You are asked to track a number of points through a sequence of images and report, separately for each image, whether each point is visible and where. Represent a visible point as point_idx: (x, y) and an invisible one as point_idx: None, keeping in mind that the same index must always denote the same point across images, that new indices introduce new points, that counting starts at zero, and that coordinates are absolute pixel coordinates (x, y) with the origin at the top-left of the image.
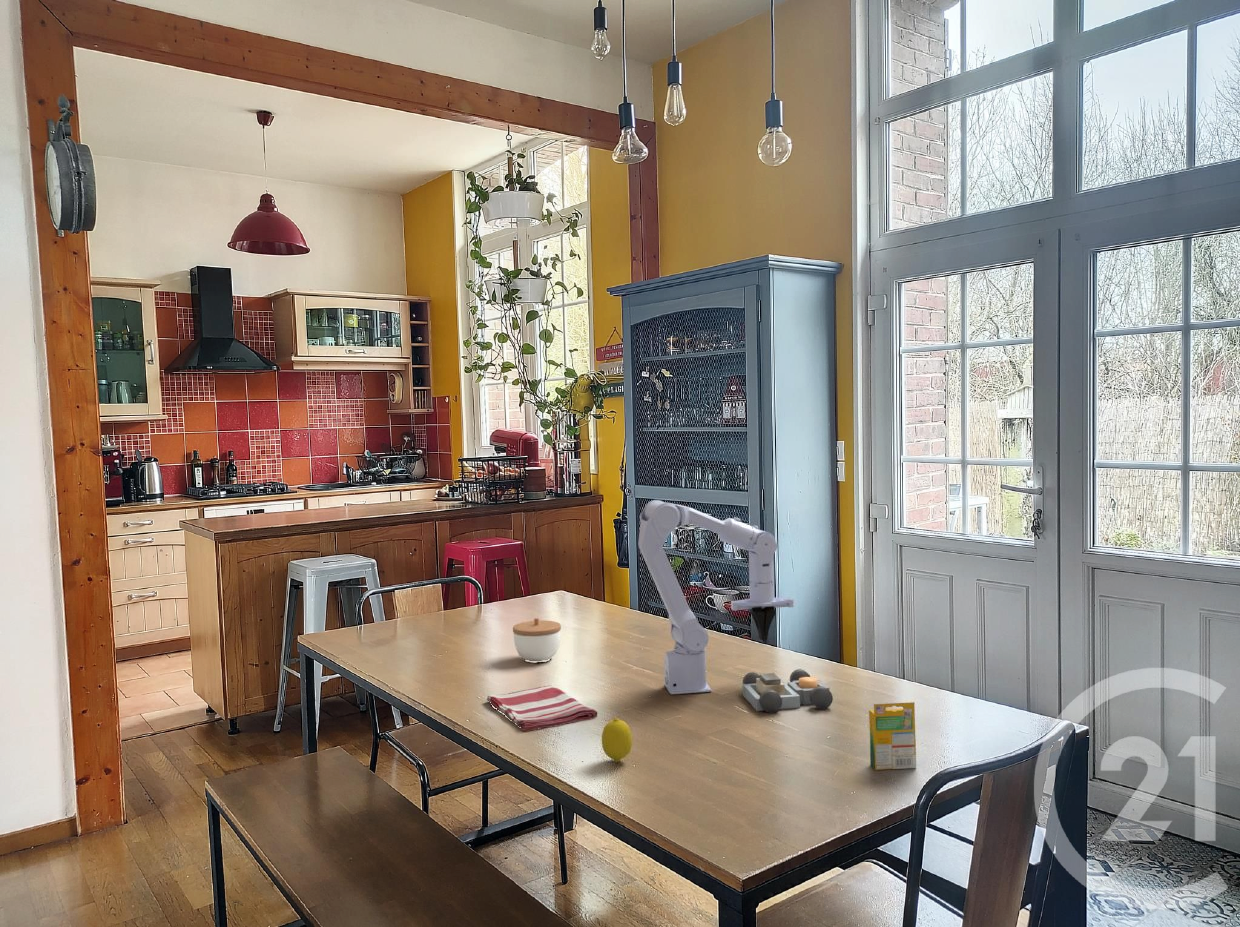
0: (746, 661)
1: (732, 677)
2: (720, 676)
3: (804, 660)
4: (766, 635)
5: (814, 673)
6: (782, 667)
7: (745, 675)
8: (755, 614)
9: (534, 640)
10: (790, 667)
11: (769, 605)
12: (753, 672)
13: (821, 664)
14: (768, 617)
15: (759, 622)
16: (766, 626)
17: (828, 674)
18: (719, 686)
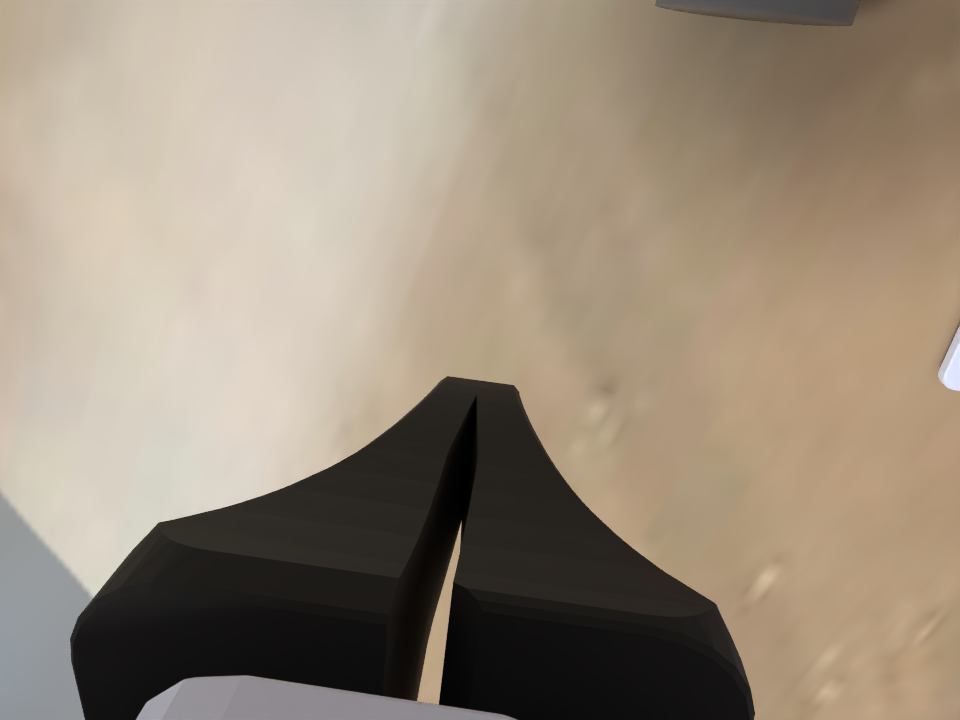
0: (444, 644)
1: (677, 410)
2: (741, 457)
3: (110, 549)
4: (446, 394)
5: (107, 297)
6: (278, 481)
7: (842, 18)
8: (727, 633)
9: None
10: (229, 464)
11: (229, 703)
12: (761, 7)
13: (24, 450)
14: (361, 524)
15: (571, 507)
16: (431, 449)
17: (16, 242)
18: (885, 252)
